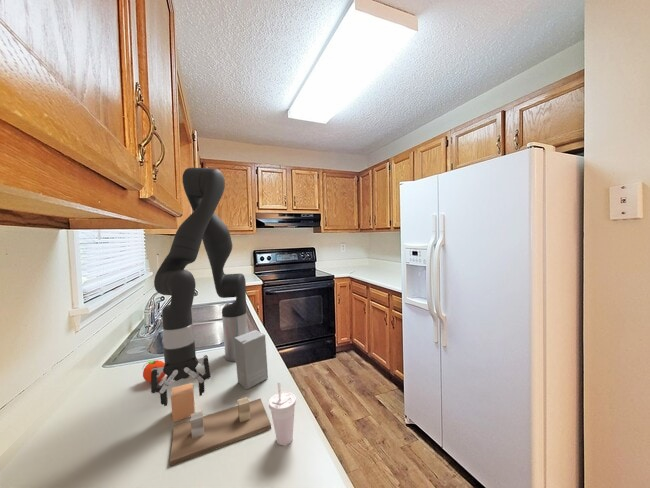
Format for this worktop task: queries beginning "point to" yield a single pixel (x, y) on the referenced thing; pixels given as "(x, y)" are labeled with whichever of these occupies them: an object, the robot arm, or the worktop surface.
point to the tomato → (149, 368)
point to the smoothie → (283, 415)
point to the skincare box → (251, 358)
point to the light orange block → (182, 402)
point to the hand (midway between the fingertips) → (183, 399)
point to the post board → (218, 429)
